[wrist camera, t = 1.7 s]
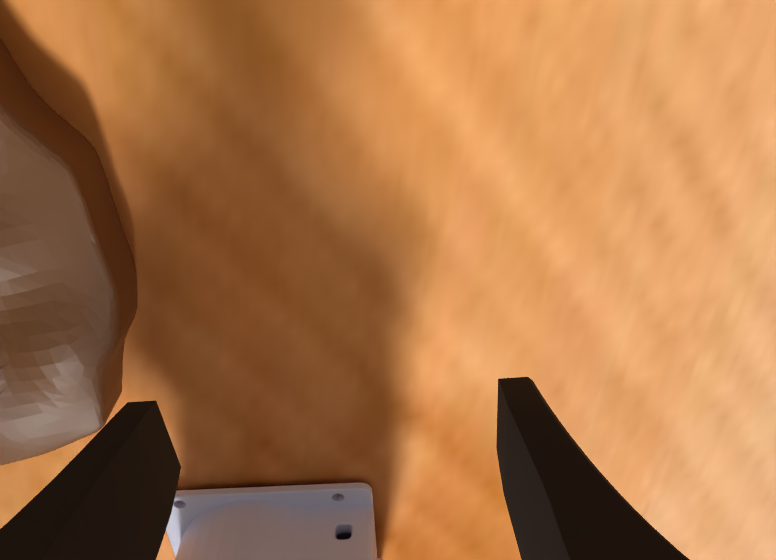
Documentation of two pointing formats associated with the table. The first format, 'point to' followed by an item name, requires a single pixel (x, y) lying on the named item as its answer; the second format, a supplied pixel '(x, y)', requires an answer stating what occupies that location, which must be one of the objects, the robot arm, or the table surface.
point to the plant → (56, 278)
